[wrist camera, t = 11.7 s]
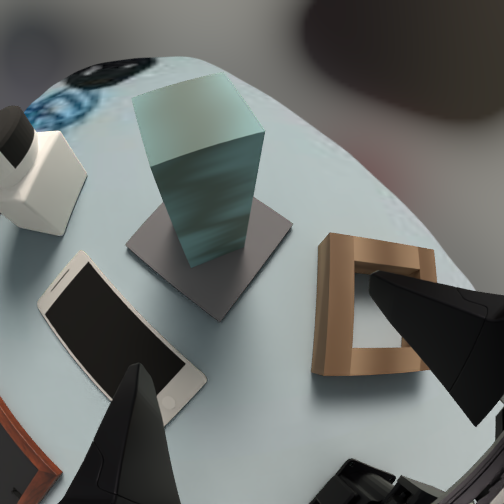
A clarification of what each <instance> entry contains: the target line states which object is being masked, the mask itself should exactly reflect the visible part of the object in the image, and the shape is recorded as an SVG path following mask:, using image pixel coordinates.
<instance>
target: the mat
mask: <svg viewBox="0 0 504 504" xmlns="http://www.w3.org/2000/svg"><path fill="white" fill-rule="evenodd" d="M292 225H293V223H292V222H290V221H289V220H287V219H286V218H284V217H283V216H281V215H280V214H278V213H277V212H276V211H274V210H273V209H271V208H270V207H268V206H267V205H265V204H264V203H262V202H261V201H259V200H258V199H256V198H255V197H253V201H252V206H251V212H250V218H249V223H248V229H247V235H246V240H245V246H244V247H243V248H240V249H238V250H235V251H233V252H230V253H228V254H225V255H223V256H220V257H218V258H215V259H213V260H210V261H208V262H205V263H202V264H200V265H197V266H195V267H192V268H191V267H190V264H189V262H188V260H187V257H186V255H185V253H184V250H183V248H182V246H181V243H180V241H179V239H178V236H177V234H176V231H175V229H174V227H173V224H172V222H171V219H170V217H169V214H168V212H167V209H166V207H165V204H164V202H163V203H162V204H161V205H160V206H159V207H158V208H157V209H156V210H155V211H154V212H153V213H152V215H151V216H150V217H149V218H148V219H147V220H146V221H145V222H144V223H143V224H142V226H141V227H140V228H139V229H138V230H137V231H136V232H135V234H134V235H133V236H132V237H131V238H130V239H129V241H128V242H127V243H126V244H125V245H126V246H127V247H128V248H129V249H130V250H131V251H132V252H134V253H135V254H136V255H137V256H138V257H139V258H140V259H142V260H143V261H144V262H145V263H146V264H147V265H149V266H150V267H151V268H152V269H153V270H155V271H156V272H157V273H158V274H159V275H160V276H162V277H163V278H164V279H165V280H167V281H168V282H169V283H170V284H171V285H173V286H174V287H175V288H176V289H178V290H179V291H180V292H181V293H183V294H184V295H185V296H186V297H188V298H189V299H190V300H191V301H193V302H194V303H195V304H197V305H198V306H199V307H200V308H202V309H203V310H204V311H206V312H207V313H208V314H210V315H211V316H212V317H214V318H215V319H216V320H218V321H219V322H221V320H222V319H223V318H224V316H225V315H226V314H227V312H228V311H229V310H230V308H231V307H232V306H233V304H234V303H235V302H236V301H237V299H238V298H239V297H240V295H241V294H242V293H243V291H244V290H245V289H246V287H247V286H248V285H249V283H250V282H251V281H252V279H253V278H254V277H255V275H256V274H257V273H258V271H259V270H260V269H261V267H262V266H263V265H264V263H265V262H266V261H267V259H268V258H269V256H270V255H271V254H272V252H273V251H274V250H275V248H276V247H277V246H278V244H279V243H280V242H281V240H282V239H283V238H284V236H285V235H286V233H287V232H288V231H289V229H290V228H291V227H292Z"/></svg>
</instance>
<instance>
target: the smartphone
mask: <svg viewBox="0 0 504 504" xmlns="http://www.w3.org/2000/svg"><path fill="white" fill-rule="evenodd" d="M37 306H38V308H39V310H40V312H41V313H42V315H43V316H44V318H45V320H46V321H47V323H48V324H49V326H50V327H51V328H52V330H53V331H54V333H55V334H56V336H57V337H58V338H59V340H60V341H61V343H62V344H63V345H64V347H65V348H66V349H67V351H68V352H69V353H70V354H71V356H72V357H73V358H74V360H75V361H76V362H77V363H78V365H79V366H80V367H81V368H82V369H83V371H84V372H85V373H86V374H87V375H88V376H89V378H90V379H91V380H92V381H93V382H94V383H95V384H96V386H97V387H98V388H99V389H100V390H101V391H102V392H103V393H104V394H105V395H106V396H107V397H108V399H109V400H110V401H112V399H113V397H114V395H115V393H116V391H117V389H118V387H119V385H120V383H121V381H122V379H123V377H124V375H125V373H126V371H127V369H128V367H129V366H130V365H132V364H136V363H141V364H142V365H143V367H144V368H145V369H146V371H147V372H148V374H149V375H150V376H151V378H152V381H153V384H154V388H155V392H156V396H157V400H158V403H159V407H160V411H161V415H162V418H163V424H164V426H165V425H166V424H167V423H168V422H169V421H170V420H171V419H172V418H173V417H174V416H175V415H176V414H177V413H178V412H179V411H180V410H181V409H182V408H183V407H184V406H185V405H186V404H187V402H188V401H189V400H190V399H191V398H192V397H193V396H194V395H195V394H196V393H197V392H198V391H199V390H200V389H201V387H202V386H203V385H204V384H205V383H206V382H207V378H206V376H205V375H204V374H203V373H202V372H201V371H200V370H199V369H198V368H196V367H195V366H194V365H193V364H192V363H191V362H190V361H188V360H187V359H186V358H185V357H184V356H183V355H182V354H181V353H180V352H178V351H177V350H176V349H175V348H174V347H173V346H172V345H171V344H170V343H169V342H168V341H167V340H166V339H165V338H164V337H163V336H161V335H160V334H159V333H158V332H157V331H156V330H155V329H154V328H153V327H152V326H151V325H150V324H149V323H148V322H147V321H146V320H145V319H144V318H143V317H142V316H141V315H140V314H139V312H138V311H137V310H136V309H135V308H134V307H133V306H132V305H131V304H130V303H129V302H128V301H127V300H126V299H125V298H124V296H123V295H122V294H121V293H120V292H119V291H118V290H117V289H116V288H115V287H114V285H113V284H112V283H111V282H110V281H109V280H108V279H107V277H106V276H105V275H104V274H103V273H102V272H101V270H100V269H99V268H98V267H97V266H96V264H95V263H94V262H93V261H92V259H91V258H90V257H89V256H88V255H87V254H86V253H85V252H84V251H82V250H80V251H79V252H78V253H77V254H76V255H75V256H74V257H73V258H72V260H71V261H70V262H69V263H68V264H67V265H66V267H65V268H64V269H63V270H62V271H61V272H60V274H59V275H58V276H57V277H56V279H55V280H54V281H53V282H52V283H51V285H50V286H49V287H48V289H47V290H46V291H45V292H44V294H43V295H42V296H41V298H40V299H39V300H38V302H37Z"/></svg>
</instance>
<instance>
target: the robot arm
mask: <svg viewBox="0 0 504 504" xmlns="http://www.w3.org/2000/svg"><path fill="white" fill-rule="evenodd" d="M369 294H370V296H371V297H372V299H373V300H374V302H375V303H376V304H377V306H378V307H379V308H380V310H381V311H382V313H383V314H384V315H385V317H386V318H387V319H388V321H389V322H390V323H391V325H392V326H393V327H394V328H395V329H396V330H397V331H398V333H399V334H400V335H401V336H402V337H403V338H404V339H405V341H406V342H407V343H408V344H409V345H410V346H411V348H412V349H413V350H414V351H415V352H416V353H417V355H418V356H419V357H420V358H421V359H422V360H423V362H424V363H425V364H426V365H427V366H428V368H429V369H430V370H431V371H432V372H433V374H434V375H435V376H436V377H437V379H438V380H439V381H440V382H441V383H442V385H443V386H444V387H445V388H446V390H447V391H448V392H449V394H450V395H451V396H452V397H453V399H454V400H455V401H456V403H457V404H458V405H459V406H460V408H461V409H462V410H463V412H464V413H465V414H466V416H467V417H468V418H469V420H470V421H471V422H472V424H473V425H474V426H475V427H477V425H478V424H479V423H480V422H481V421H482V420H483V419H484V418H485V417H486V416H487V414H488V413H489V412H490V411H491V410H492V409H493V407H494V406H495V405H496V404H497V402H498V401H499V400H500V401H501V402H502V403H503V404H504V295H497V294H490V293H483V292H477V291H472V290H467V289H462V288H458V287H453V286H449V285H444V284H440V283H435V282H431V281H426V280H422V279H417V278H413V277H408V276H404V275H399V274H394V273H390V272H385V271H381V270H378V271H375V272H373V273H371V274H370V277H369ZM93 440H94V441H93V442H92V444H91V446H90V448H89V450H88V452H87V455H86V457H85V459H84V461H83V463H82V465H81V467H80V469H79V470H78V472H77V474H76V476H75V478H74V479H73V481H72V483H71V485H70V487H69V489H68V490H67V492H66V494H65V496H64V497H63V499H62V500H61V501H60V502H59V503H58V504H181V502H180V499H179V495H178V491H177V487H176V483H175V479H174V475H173V470H172V466H171V461H170V456H169V451H168V446H167V441H166V435H165V430H164V424H163V418H162V415H161V411H160V407H159V403H158V400H157V396H156V392H155V388H154V384H153V381H152V378H151V376H150V375H149V374H148V372H147V371H146V369H145V368H144V367H143V365H142V364H141V363H136V364H132V365H130V366H129V367H128V369H127V371H126V373H125V375H124V377H123V379H122V381H121V383H120V385H119V387H118V389H117V391H116V393H115V395H114V397H113V399H112V401H111V403H110V405H109V407H108V409H107V411H106V414H105V416H104V418H103V420H102V422H101V424H100V426H99V428H98V431H97V433H96V435H95V437H94V439H93ZM352 462H353V463H352ZM350 463H352V465H350V466H349V464H350ZM390 479H391V480H390ZM395 479H396V476H394V475H393V474H390V473H387V472H385V471H382V470H379V469H377V468H374V467H372V466H369V465H367V464H365V463H362V462H360V461H358V460H355V459H352V458H351V459H348V460H347V461H346V462H345V463H344V465H343V466H342V467H341V468H340V470H339V471H338V472H337V473H336V474H335V476H333V477H332V478H331V479H330V481H329V482H328V483H327V484H326V485H325V486H324V487H323V489H322V490H321V491H320V492H319V493H318V494H317V495H316V497H315V498H314V499H313V500H312V501H311V502H310V503H309V504H470V503H471V502H472V501H473V500H474V499H475V500H476V501H477V503H476V504H504V407H503V408H502V409H501V411H500V412H499V413H498V414H497V416H496V434H495V442H494V443H493V444H492V446H491V447H490V448H489V449H488V450H487V451H486V452H485V454H484V455H483V456H482V457H481V458H480V459H479V460H478V461H477V462H476V463H475V464H474V465H473V466H472V467H471V468H470V469H469V470H468V471H467V472H466V473H465V474H464V475H463V476H462V477H461V478H460V479H459V480H458V481H457V482H456V483H455V484H454V485H453V486H452V487H450V488H449V489H448V490H447V491H446V492H444V491H442V490H440V489H437V488H435V487H433V486H430V485H427V484H424V483H421V482H418V481H415V480H413V479H410V478H407V477H405V476H402V475H401V476H400V477H399V479H398V480H397V483H396V485H395V486H394V485H392V484H393V482H394V481H395Z"/></svg>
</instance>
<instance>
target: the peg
mask: <svg viewBox="0 0 504 504" xmlns="http://www.w3.org/2000/svg"><path fill="white" fill-rule="evenodd" d="M132 102H133V106H134V110H135V114H136V118H137V122H138V126H139V129H140V133H141V137H142V140H143V144H144V147H145V151H146V154H147V158H148V161H149V164H150V168H151V170H152V173H153V176H154V178H155V181H156V184H157V186H158V189H159V192H160V194H161V197H162V199H163V202H164V204H165V207H166V209H167V212H168V214H169V217H170V219H171V222H172V224H173V227H174V229H175V231H176V234H177V236H178V239H179V241H180V243H181V246H182V248H183V250H184V253H185V255H186V257H187V260H188V262H189V264H190V267H191V268H192V267H195V266H197V265H200V264H202V263H205V262H208V261H210V260H213V259H215V258H218V257H220V256H223V255H225V254H228V253H230V252H233V251H235V250H238V249H240V248H243V247H244V246H245V240H246V235H247V229H248V223H249V218H250V212H251V206H252V201H253V195H254V190H255V184H256V178H257V173H258V167H259V162H260V156H261V151H262V145H263V140H264V134H265V130H264V129H263V127H262V126H261V124H260V123H259V121H258V120H257V118H256V117H255V115H254V114H253V112H252V111H251V109H250V108H249V106H248V105H247V104H246V102H245V101H244V99H243V98H242V96H241V95H240V94H239V92H238V91H237V89H236V88H235V87H234V85H233V84H232V82H231V81H230V80H229V78H228V77H227V76H226V74H225V73H224V72H222V73H217V74H212V75H208V76H204V77H199V78H195V79H191V80H187V81H184V82H180V83H177V84H173V85H170V86H166V87H163V88H160V89H157V90H154V91H150V92H147V93H145V94H142V95H139V96H136V97H133V98H132Z"/></svg>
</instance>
